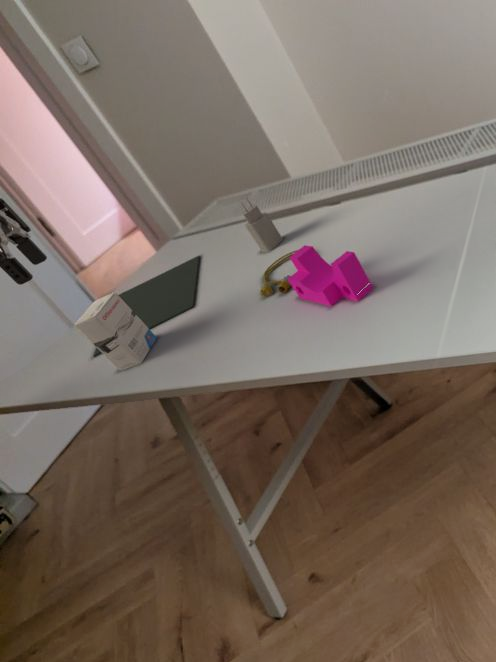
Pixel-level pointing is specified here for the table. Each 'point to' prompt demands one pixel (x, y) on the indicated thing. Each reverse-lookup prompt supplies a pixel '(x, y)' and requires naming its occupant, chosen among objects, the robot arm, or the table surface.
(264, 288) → the braided water hose
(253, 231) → the power adapter
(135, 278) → the table surface
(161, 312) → the mat
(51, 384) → the table surface
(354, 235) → the table surface
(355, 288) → the toy block
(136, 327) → the ink box
